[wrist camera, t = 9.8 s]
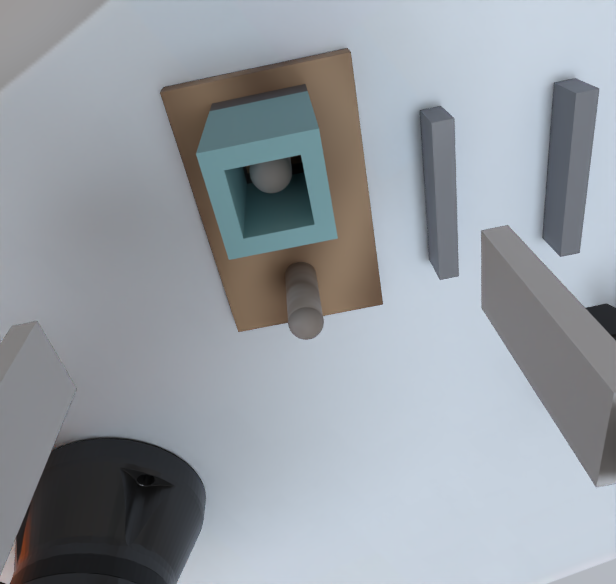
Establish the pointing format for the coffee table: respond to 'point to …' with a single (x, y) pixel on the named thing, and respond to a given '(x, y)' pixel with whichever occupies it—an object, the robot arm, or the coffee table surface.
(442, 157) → the feeder rails
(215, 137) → the sleeve
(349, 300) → the pin board
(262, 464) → the coffee table surface
